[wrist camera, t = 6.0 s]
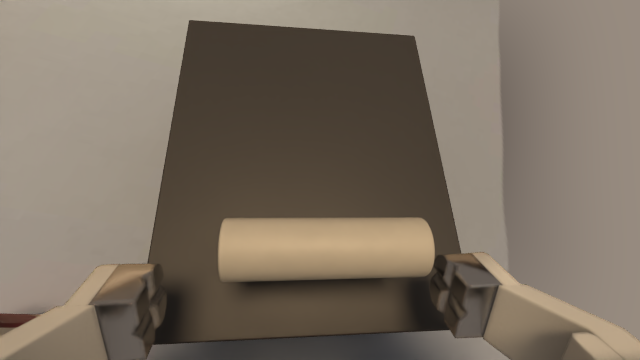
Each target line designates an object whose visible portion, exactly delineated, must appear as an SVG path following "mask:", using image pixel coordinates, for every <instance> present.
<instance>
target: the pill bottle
mask: <svg viewBox="0 0 640 360" xmlns="http://www.w3.org/2000/svg"><path fill="white" fill-rule="evenodd" d="M38 316H40V315H35V314H0V336H2V335H4V334H6V333H8V332H9V331H11V330H13V329H15V328H17V327H19V326H21V325H23V324H25V323H26V322H28V321H30V320H32V319H34V318H36V317H38Z"/></svg>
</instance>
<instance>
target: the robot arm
mask: <svg viewBox="0 0 640 360" xmlns="http://www.w3.org/2000/svg"><path fill="white" fill-rule="evenodd" d="M433 266H434V268H435V270H436V271H437V272H436V273H435V274H434V275H433V276H432V277H431V280H430V286H429V288H430V296H431V299H432V302H433V304H434V305H435V307H436V309H437V310H439V311H441V312H442V313H444V314H445V317H444V322H445V323H446V325H447V326H448V328H449V329H450V331H451V333H452V334H453V336H454V337H455V338H474V337H483V339H484V340H486V341H487V342H488V343H489V344H491V345H492V346H493V347H495V348H496V349H497V350H499V351H500V352H501V353H503V354H504V355H505V356H507V357H508V358H509V359H511V360H640V341H639V340H638V339H636V338H635V337H634V336H633V335H631V334H630V333H629V332H628V331H626V330H625V329H624V328H622V327H619V326H617V325H615V324H613V323H611V322H608V321H606V320H604V319H602V318H599V317H597V316H595V315H593V314H591V313H588V312H586V311H584V310H581V309H579V308H577V307H575V306H573V305H570V304H568V303H566V302H564V301H562V300H559V299H557V298H555V297H553V296H550V295H548V294H546V293H544V292H541V291H539V290H537V289H535V288H533V287H530V286H528V285H526V284H519V283H518V282H517V281H516V280H515V279H514V278H513V277H512V276H511V275H510V274H509V273H508V272H507V271H506V270H505V269H504V268H502V267H501V266H500V265H499V264H498V263H497V262H496V261H495V260H494V259H493V258H492V257H491V256H490V255H489V254H487V253H484V252H475V253H465V254H444V255H437V257H436V258H435V261H434V265H433ZM163 277H164V274H163V269H162V266H161V265H160V264H107V265H100V266H97V267H96V269H95V270H94V271H93V272H92V273H91V274H90V276H89V277H88V278H87V279H86V280H85V281H84V283H83V284H82V285H81V286H80V287H79V288H78V290H77V291H76V292H75V293H74V294H73V295H72V297H71V298H70V299H69V300H68V301H67V302H66V304H65V305H64V306H58V307H55V308H53V309H51V310H49V311H47V312H45V313H43V314H42V315H40V316H38V317H36V318H34V319H32V320H30V321H28V322H26V323H25V324H23V325H21V326H19V327H17V328H15V329H13V330H11V331H9V332H8V333H6V334H4V335H2V336H0V360H146V359H147V356H148V354H149V352H150V350H151V347H152V345H153V343H154V340H155V332H154V330H155V329H156V328H158V327H159V326H160V325H161V324H162V322H163V319H164V317H165V312H166V307H167V294H166V289H165V288H164V287H163V286H162V285H161V284H160V283H161V281H162V279H163Z"/></svg>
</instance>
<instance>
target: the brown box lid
mask: <svg viewBox="0 0 640 360" xmlns="http://www.w3.org/2000/svg"><path fill="white" fill-rule="evenodd" d="M444 254H461V250H460V245H459V241H458V236H457V231H456V227H455V222H454V218H453V213H452V208H451V204H450V199H449V194H448V190H447V185H446V180H445V176H444V171H443V166H442V162H441V157H440V153H439V148H438V143H437V139H436V134H435V129H434V125H433V120H432V115H431V111H430V106H429V101H428V97H427V92H426V88H425V83H424V78H423V74H422V69H421V64H420V60H419V55H418V50H417V46H416V41H415V37H414V36H408V35H394V34H380V33H365V32H351V31H337V30H322V29H308V28H294V27H280V26H265V25H251V24H237V23H223V22H208V21H194V20H189V25H188V31H187V36H186V42H185V48H184V54H183V60H182V66H181V71H180V77H179V83H178V89H177V95H176V100H175V106H174V112H173V118H172V124H171V130H170V135H169V141H168V147H167V153H166V159H165V164H164V170H163V176H162V182H161V188H160V194H159V199H158V205H157V211H156V217H155V223H154V228H153V234H152V240H151V246H150V252H149V258H148V263H147V264H160V265H161V266H162V269H163V274H164V277H163V279H162V281H161V283H160V284H161V285H162V286H163V287H164V288H165V289H166V294H167V307H166V312H165V317H164V319H163V322H162V324H161V325H160V326H159V327H158V328H156V329H155V330H154V332H155V340H154V343H153V345H156V344H177V343H197V342H217V341H237V340H257V339H277V338H297V337H317V336H337V335H357V334H377V333H397V332H418V331H438V330H450V329H449V328H448V326H447V325H446V323H445V322H444V317H445V314H444V313H442V312H441V311H439V310H437V309H436V307H435V305H434V304H433V302H432V299H431V296H430V288H429V286H430V280H431V277H432V276H433V275H434V274H435V273H436V272H437V271H436V270H435V268H434V266H433V265H434V261H435V258H436V257H437V255H444Z"/></svg>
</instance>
